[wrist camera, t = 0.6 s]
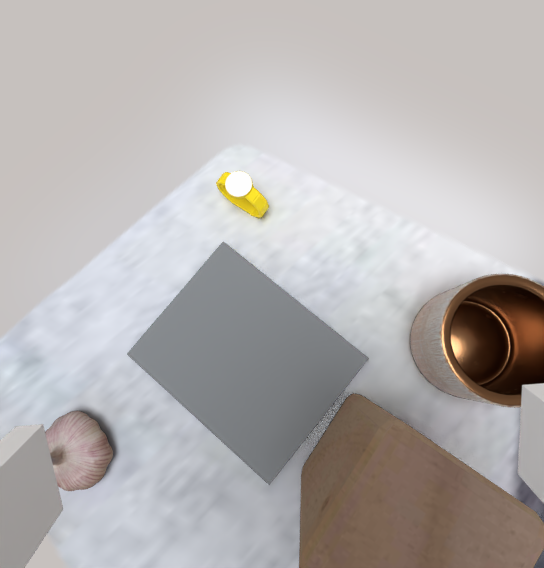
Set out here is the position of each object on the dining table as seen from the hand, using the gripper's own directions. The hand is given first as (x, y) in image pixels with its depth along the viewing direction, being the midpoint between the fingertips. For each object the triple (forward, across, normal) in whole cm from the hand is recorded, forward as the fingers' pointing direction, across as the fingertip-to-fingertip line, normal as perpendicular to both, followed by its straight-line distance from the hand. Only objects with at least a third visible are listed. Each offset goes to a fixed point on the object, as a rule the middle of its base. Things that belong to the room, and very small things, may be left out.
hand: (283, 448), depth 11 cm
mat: (+30, +4, +10) cm, 32 cm away
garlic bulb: (+28, +22, +18) cm, 40 cm away
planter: (+30, -18, +10) cm, 36 cm away
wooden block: (+26, -7, +20) cm, 33 cm away
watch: (+38, +3, -6) cm, 38 cm away
